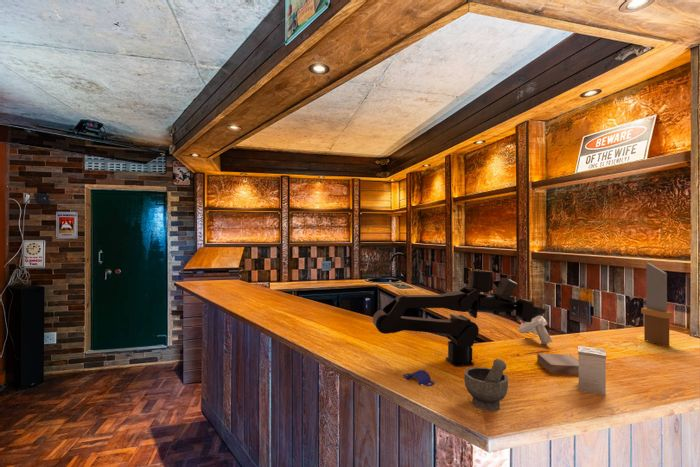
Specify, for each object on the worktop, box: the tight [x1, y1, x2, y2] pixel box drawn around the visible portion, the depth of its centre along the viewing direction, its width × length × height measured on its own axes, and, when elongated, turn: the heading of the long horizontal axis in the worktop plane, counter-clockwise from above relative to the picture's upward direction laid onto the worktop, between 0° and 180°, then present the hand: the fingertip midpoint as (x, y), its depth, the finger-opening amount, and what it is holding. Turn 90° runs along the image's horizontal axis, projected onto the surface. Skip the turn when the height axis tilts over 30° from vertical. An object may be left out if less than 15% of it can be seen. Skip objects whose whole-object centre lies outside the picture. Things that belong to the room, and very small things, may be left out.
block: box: [536, 352, 579, 376], centre depth 105 cm, size 10×10×3 cm
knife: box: [640, 262, 674, 346], centre depth 131 cm, size 8×4×30 cm, turn 9°
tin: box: [577, 345, 607, 397], centre depth 90 cm, size 6×6×10 cm
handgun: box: [518, 315, 553, 345], centre depth 135 cm, size 20×4×11 cm, turn 1°
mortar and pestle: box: [463, 358, 509, 412], centre depth 81 cm, size 11×9×12 cm
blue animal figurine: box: [402, 369, 435, 387], centre depth 95 cm, size 9×5×3 cm, turn 43°
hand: (535, 307), depth 112 cm, fingers open, 9 cm apart
